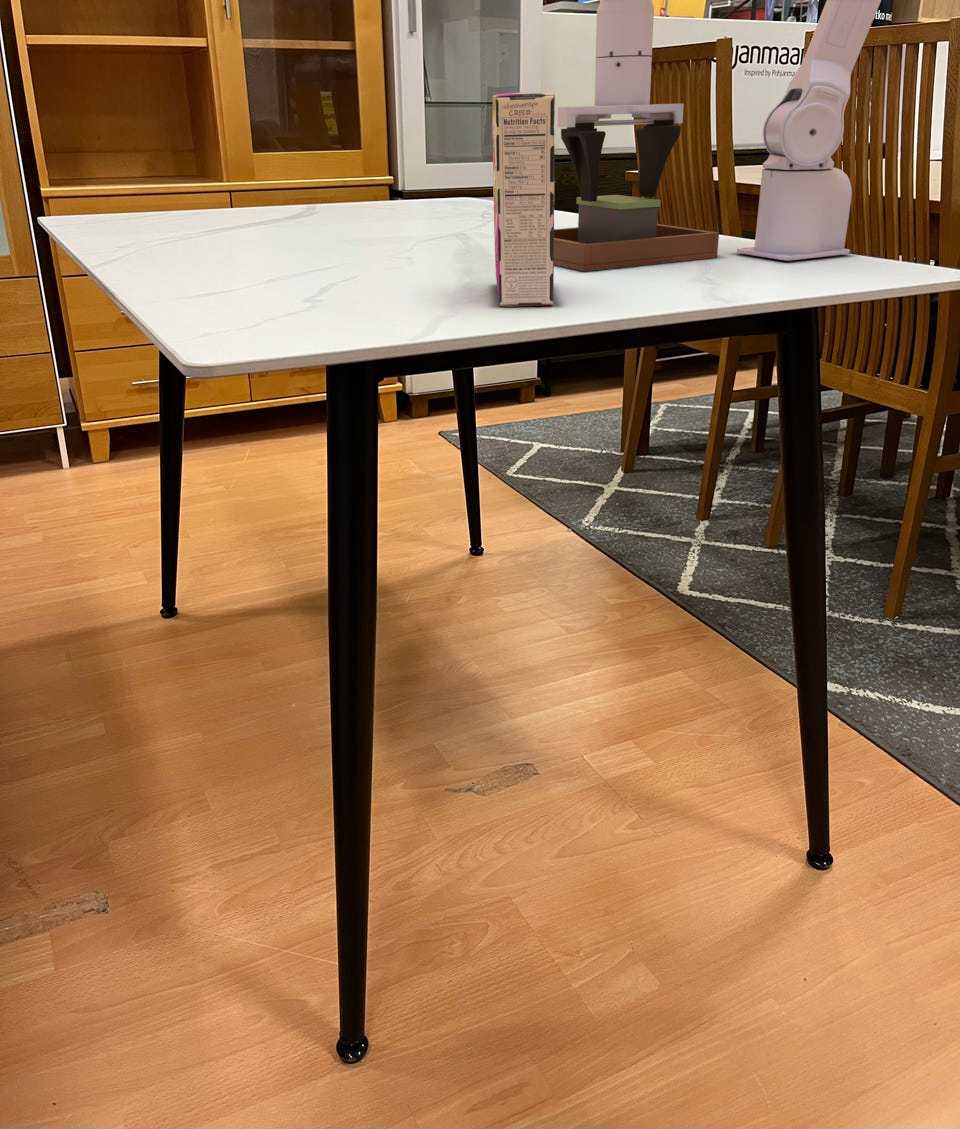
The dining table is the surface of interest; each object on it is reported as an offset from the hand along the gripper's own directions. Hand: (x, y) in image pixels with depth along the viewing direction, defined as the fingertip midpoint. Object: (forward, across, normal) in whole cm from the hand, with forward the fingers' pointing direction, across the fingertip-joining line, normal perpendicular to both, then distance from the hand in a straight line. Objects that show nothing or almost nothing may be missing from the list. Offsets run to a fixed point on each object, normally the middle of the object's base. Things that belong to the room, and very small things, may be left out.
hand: (618, 198), depth 104 cm
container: (+6, 0, 0) cm, 6 cm away
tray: (+6, 0, 0) cm, 6 cm away
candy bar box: (+6, -21, -16) cm, 27 cm away
